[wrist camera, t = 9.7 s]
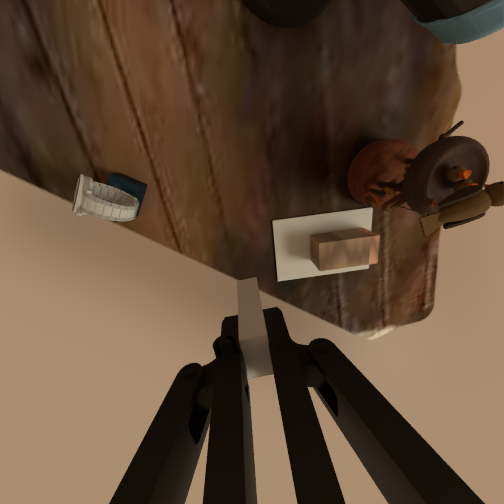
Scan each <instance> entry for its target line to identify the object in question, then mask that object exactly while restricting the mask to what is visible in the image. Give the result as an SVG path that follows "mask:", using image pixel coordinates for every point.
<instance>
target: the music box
mask: <svg viewBox="0 0 504 504" xmlns="http://www.w3.org/2000/svg"><path fill="white" fill-rule="evenodd" d="M463 123H464V122H463V121H460V122H459V123H457V124H456V125H455V126H454V127H453V128H451V129H450V130H449V131H448V132H447V133H445V134H441V135H440V136H439V139H438V141H436V142H434V143H432V144H430V145H429V146H427V147H426V148H424V149H423V150H422V151H421V152H420V153H419V154H418V153H417V150H416V149H415V147H414V146H413V145H412V144H411V143H409V142H408V141H405V140H402V139H386V140H377V141H374V142H371V143H369V144H368V145H366V146H365V147H363V148H362V149H361V150H360V151H359V152H358V153H357V154H356V156H355V157H354V159H353V161H352V162H351V165H350V167H349V170H348V176H347V184H348V189H349V192H350V194H351V195H352V197H353V198H354V199H355V200H356V201H358V202H359V203H362V204H364V205H367V206H369V207H371V208H378V209H383V210H386V211H391V210H393V209H395V208H396V207H401V206H400V205H401V204H403V203H404V202H407V204H408V205H409V207H410V208H411V209H408V208H405V207H401V208H404V209H408V210H411V211H414V212H416V213H418V214H420V215H423V216H422V217H420V218H419V221H420V224H421V225H422V226H421V228H422V232H424V233H423V235H424V236H428V235H429V234H430V233H432V232H433V231H434V230H436V229H437V228H438V227H440V226H441V225H442V224H443V228H444V229H448V228H452V227H455V226H459V225H462V224H465V223H468V222H471V221H473V220H476V219H479V218H481V217H483V216H484V215H485V211H487V210H488V209H489V208H490V206H503V205H504V182H503V181H501V182H497V183H493V184H491V185H487V184H486V185H484V184H485V182H486V180H487V177H488V173H489V157H488V154H487V152H486V150H485V148H484V147H483V146H482V145H481V144H480V143H479V142H478V141H476V140H474V139H472V138H469V137H465V136H451V137H448V136H449V135H450V134H451V133H453V132H454V131H455V130H456V129H457V128H458V127H460V126H461V125H462V124H463ZM483 186H484V187H485V189H484V190H483V189H482V188H483ZM444 222H446V223H444Z"/></svg>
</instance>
